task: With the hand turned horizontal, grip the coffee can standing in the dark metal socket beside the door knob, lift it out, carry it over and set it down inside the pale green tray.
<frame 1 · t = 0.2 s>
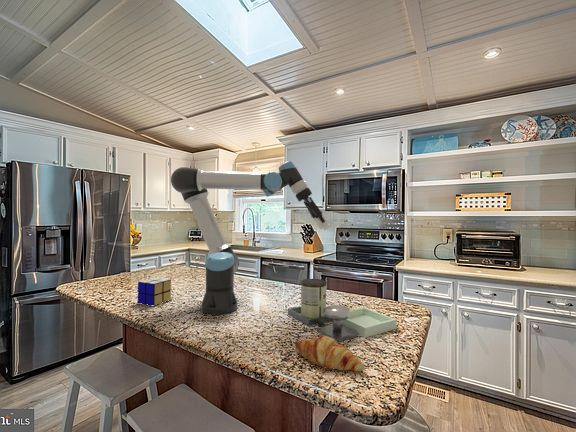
hand: (324, 228, 138), 35 cm above the countertop, tool tilted 35°, fingers open, 13 cm apart
socket: (313, 316, 115), on the countertop
tray: (364, 325, 106), on the countertop
puzzle cube: (154, 302, 131), on the countertop
croissant: (326, 363, 80), on the countertop
coffee can: (313, 316, 115), resting in socket
door knob: (337, 333, 98), on the countertop
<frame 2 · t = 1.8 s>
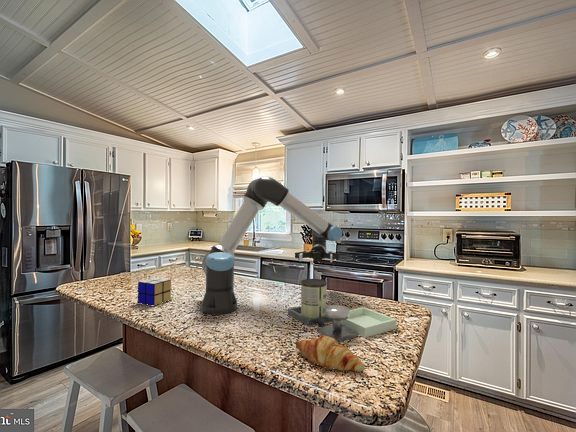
hand: (315, 258, 125), 22 cm above the countertop, tool horizontal, fingers open, 13 cm apart
nothing on the countertop moved.
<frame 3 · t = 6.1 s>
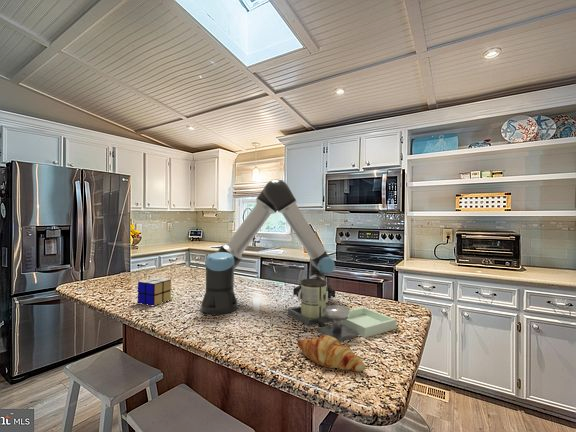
hand: (312, 298, 111), 9 cm above the countertop, tool horizontal, fingers closed on coffee can, 10 cm apart
coffee can: (313, 316, 115), resting in socket, touching gripper
everything else where it was.
when the fingers open (10 cm above the countertop, at t = 11.8 s): coffee can stays where it is, resting on tray.
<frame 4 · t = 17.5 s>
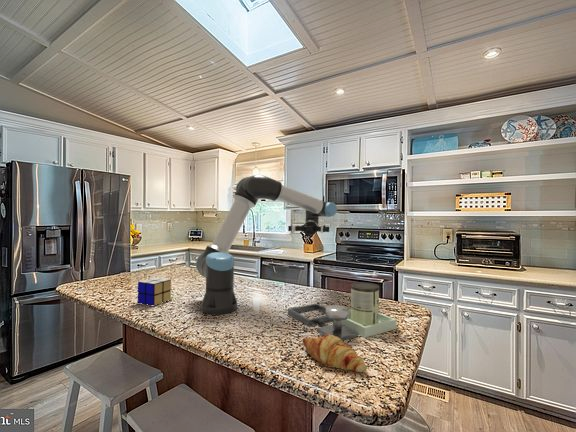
hand: (307, 229, 133), 34 cm above the countertop, tool horizontal, fingers open, 13 cm apart
coffee can: (364, 323, 107), point 1 cm above the countertop, touching tray
at the end: coffee can inside the target area on the tray (0.1 cm from its centre), point 0.6 cm above the tray's base; coffee can tilted 0°; the gripper is holding nothing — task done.
